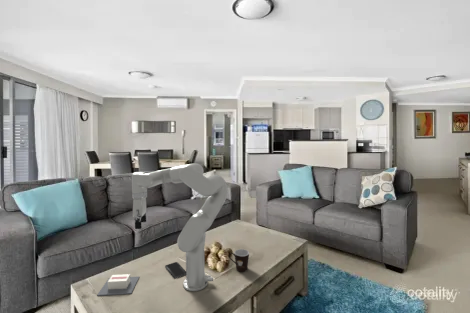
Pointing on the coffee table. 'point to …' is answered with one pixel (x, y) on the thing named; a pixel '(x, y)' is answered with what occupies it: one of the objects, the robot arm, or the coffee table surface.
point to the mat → (127, 290)
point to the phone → (175, 270)
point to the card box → (119, 281)
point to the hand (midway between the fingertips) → (140, 225)
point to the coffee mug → (241, 259)
